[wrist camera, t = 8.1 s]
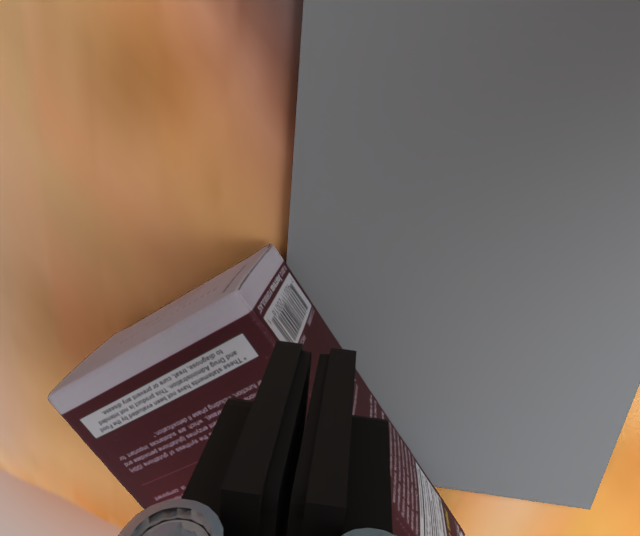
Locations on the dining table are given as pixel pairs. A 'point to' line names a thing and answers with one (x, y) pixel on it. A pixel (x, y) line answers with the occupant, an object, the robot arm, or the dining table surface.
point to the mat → (478, 227)
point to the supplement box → (215, 387)
